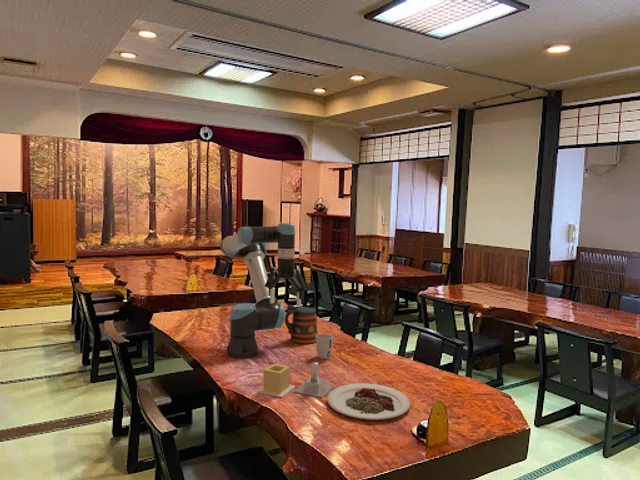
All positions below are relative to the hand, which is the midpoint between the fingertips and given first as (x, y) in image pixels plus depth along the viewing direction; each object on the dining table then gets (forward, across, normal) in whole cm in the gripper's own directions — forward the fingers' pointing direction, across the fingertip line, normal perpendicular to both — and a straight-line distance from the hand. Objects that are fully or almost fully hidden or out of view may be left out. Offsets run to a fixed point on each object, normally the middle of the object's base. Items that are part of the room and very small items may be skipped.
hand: (285, 304), depth 212 cm
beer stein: (+27, -8, +33) cm, 43 cm away
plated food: (+27, +48, -25) cm, 61 cm away
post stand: (+27, +25, -22) cm, 43 cm away
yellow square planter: (+26, +12, -29) cm, 41 cm away
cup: (+27, +13, +15) cm, 33 cm away
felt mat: (+27, +12, -29) cm, 41 cm away
